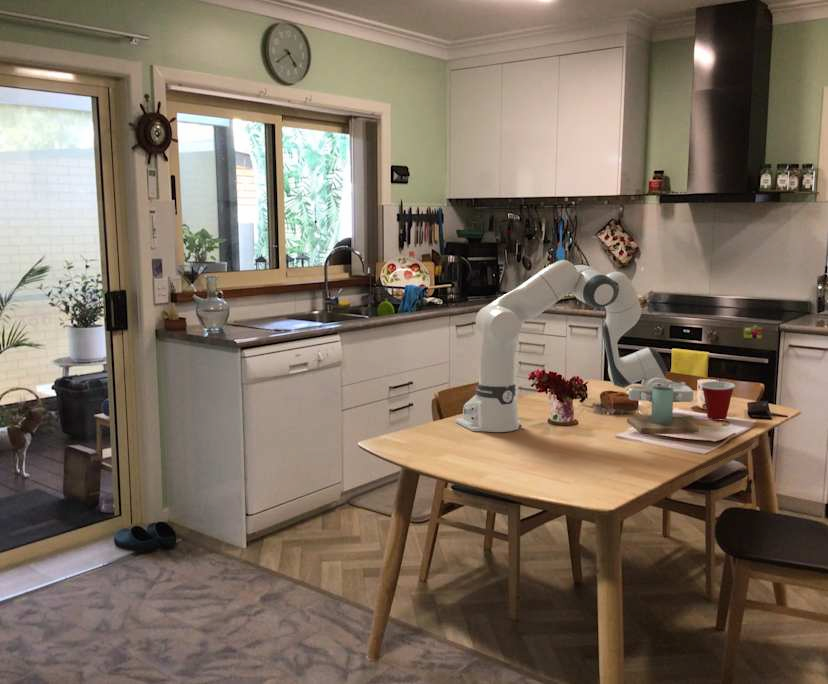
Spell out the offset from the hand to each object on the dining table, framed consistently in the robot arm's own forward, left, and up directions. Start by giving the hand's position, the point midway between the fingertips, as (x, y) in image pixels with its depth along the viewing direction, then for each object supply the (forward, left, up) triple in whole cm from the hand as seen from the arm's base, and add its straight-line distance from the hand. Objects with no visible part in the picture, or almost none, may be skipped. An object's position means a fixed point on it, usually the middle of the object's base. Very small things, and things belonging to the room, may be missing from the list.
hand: (662, 398), depth 256 cm
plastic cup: (0, +26, -10) cm, 27 cm away
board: (-1, +1, -9) cm, 10 cm away
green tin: (-1, +1, -8) cm, 8 cm away
